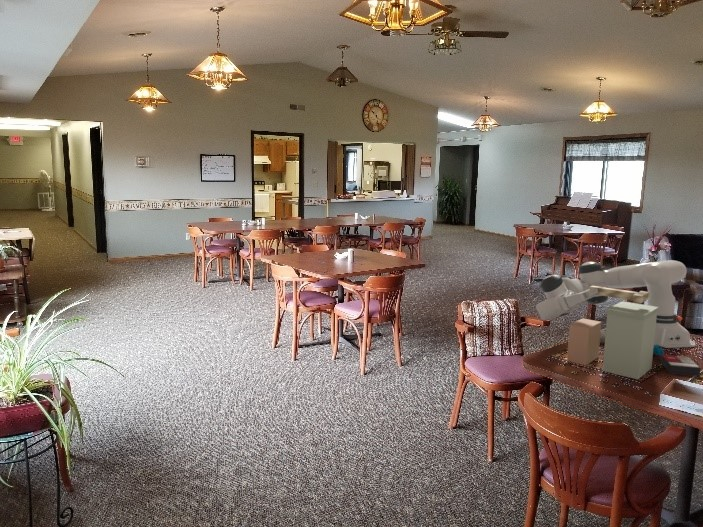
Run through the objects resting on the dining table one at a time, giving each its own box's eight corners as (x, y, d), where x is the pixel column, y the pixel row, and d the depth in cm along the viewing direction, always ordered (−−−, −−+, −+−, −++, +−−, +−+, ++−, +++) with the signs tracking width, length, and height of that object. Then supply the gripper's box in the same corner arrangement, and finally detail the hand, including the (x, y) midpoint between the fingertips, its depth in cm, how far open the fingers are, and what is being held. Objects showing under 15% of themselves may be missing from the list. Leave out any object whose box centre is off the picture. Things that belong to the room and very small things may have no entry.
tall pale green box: (601, 370, 220) (606, 308, 216) (616, 359, 233) (622, 301, 229) (638, 379, 211) (644, 315, 206) (652, 368, 223) (658, 307, 219)
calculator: (689, 356, 228) (701, 366, 214) (688, 365, 229) (700, 376, 215) (660, 353, 232) (669, 363, 217) (659, 363, 232) (669, 373, 218)
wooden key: (586, 294, 225) (586, 287, 224) (595, 291, 232) (595, 284, 232) (640, 303, 211) (641, 296, 210) (648, 299, 218) (649, 292, 217)
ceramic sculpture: (596, 321, 261) (631, 327, 254) (594, 338, 263) (628, 344, 256) (595, 327, 252) (631, 333, 245) (592, 344, 253) (628, 351, 247)
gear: (669, 354, 235) (657, 340, 232) (662, 365, 233) (651, 351, 230) (646, 350, 245) (634, 337, 242) (640, 361, 243) (628, 347, 240)
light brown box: (567, 360, 232) (569, 324, 229) (580, 352, 242) (582, 318, 239) (585, 365, 227) (588, 328, 224) (598, 357, 237) (601, 321, 234)
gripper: (582, 303, 242) (612, 292, 232) (563, 312, 227) (594, 300, 218) (576, 290, 243) (605, 279, 234) (557, 298, 228) (587, 286, 219)
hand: (600, 289), depth 226 cm, fingers closed on wooden key, 3 cm apart
